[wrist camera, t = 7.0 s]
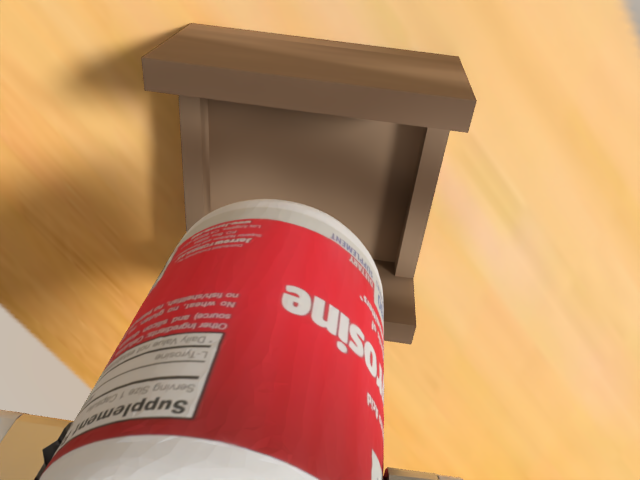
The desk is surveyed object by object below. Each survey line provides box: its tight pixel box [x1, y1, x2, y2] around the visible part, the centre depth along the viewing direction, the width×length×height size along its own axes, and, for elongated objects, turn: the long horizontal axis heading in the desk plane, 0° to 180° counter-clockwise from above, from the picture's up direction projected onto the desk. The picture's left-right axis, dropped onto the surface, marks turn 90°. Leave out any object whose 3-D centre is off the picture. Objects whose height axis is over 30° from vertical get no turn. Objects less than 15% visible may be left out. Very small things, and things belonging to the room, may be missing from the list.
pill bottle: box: [39, 199, 384, 480], centre depth 11 cm, size 6×6×11 cm
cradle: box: [142, 23, 476, 344], centre depth 20 cm, size 10×10×5 cm
